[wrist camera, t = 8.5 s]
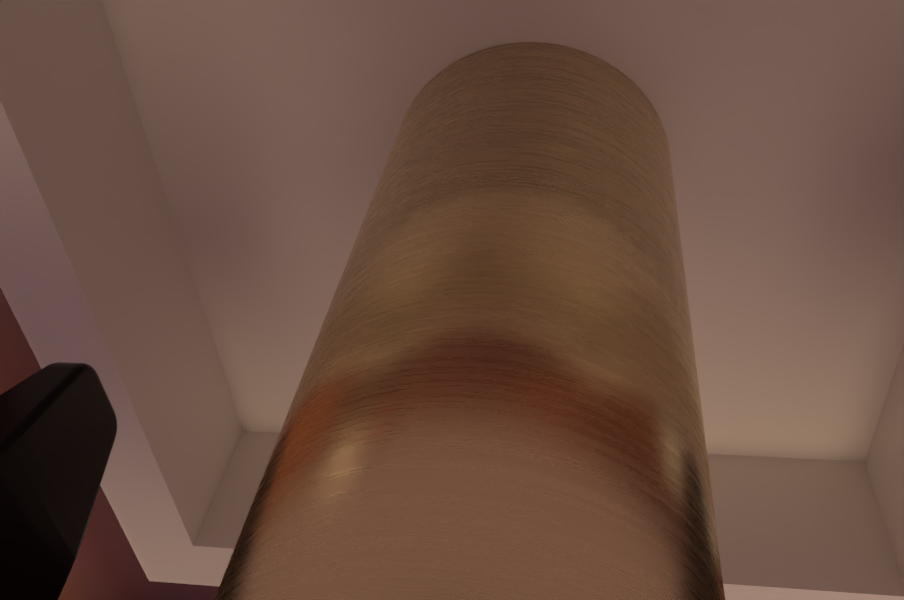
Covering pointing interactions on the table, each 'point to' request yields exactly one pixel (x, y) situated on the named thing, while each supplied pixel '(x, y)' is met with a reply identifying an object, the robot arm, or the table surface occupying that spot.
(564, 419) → the brass peg
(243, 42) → the tray
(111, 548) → the table surface
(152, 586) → the table surface
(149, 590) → the table surface
